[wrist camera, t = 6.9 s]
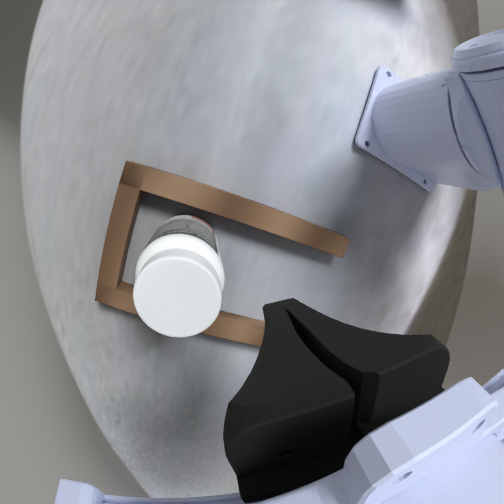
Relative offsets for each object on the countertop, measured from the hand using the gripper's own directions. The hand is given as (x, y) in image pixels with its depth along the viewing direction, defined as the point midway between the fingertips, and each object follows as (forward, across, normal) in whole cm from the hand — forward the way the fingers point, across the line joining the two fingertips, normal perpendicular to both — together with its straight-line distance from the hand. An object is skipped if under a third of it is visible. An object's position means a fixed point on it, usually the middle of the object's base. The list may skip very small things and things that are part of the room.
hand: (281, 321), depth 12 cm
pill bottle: (+10, +4, -2) cm, 11 cm away
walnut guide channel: (+9, +3, 0) cm, 10 cm away
